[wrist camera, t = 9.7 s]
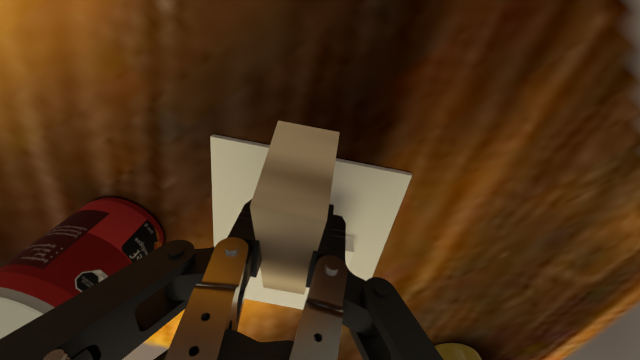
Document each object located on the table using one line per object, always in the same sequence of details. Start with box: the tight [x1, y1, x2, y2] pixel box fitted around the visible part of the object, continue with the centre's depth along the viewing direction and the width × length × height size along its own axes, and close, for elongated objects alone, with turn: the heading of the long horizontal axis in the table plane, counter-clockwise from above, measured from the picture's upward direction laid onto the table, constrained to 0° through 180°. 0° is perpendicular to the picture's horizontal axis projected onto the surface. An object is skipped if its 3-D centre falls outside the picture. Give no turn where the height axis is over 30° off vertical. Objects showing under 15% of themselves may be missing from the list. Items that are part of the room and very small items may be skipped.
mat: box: [210, 134, 412, 281], centre depth 27 cm, size 18×16×1 cm
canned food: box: [0, 197, 164, 339], centre depth 24 cm, size 8×8×11 cm
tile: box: [244, 235, 354, 309], centre depth 27 cm, size 2×10×9 cm
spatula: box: [250, 121, 347, 295], centre depth 17 cm, size 17×7×4 cm, turn 170°
